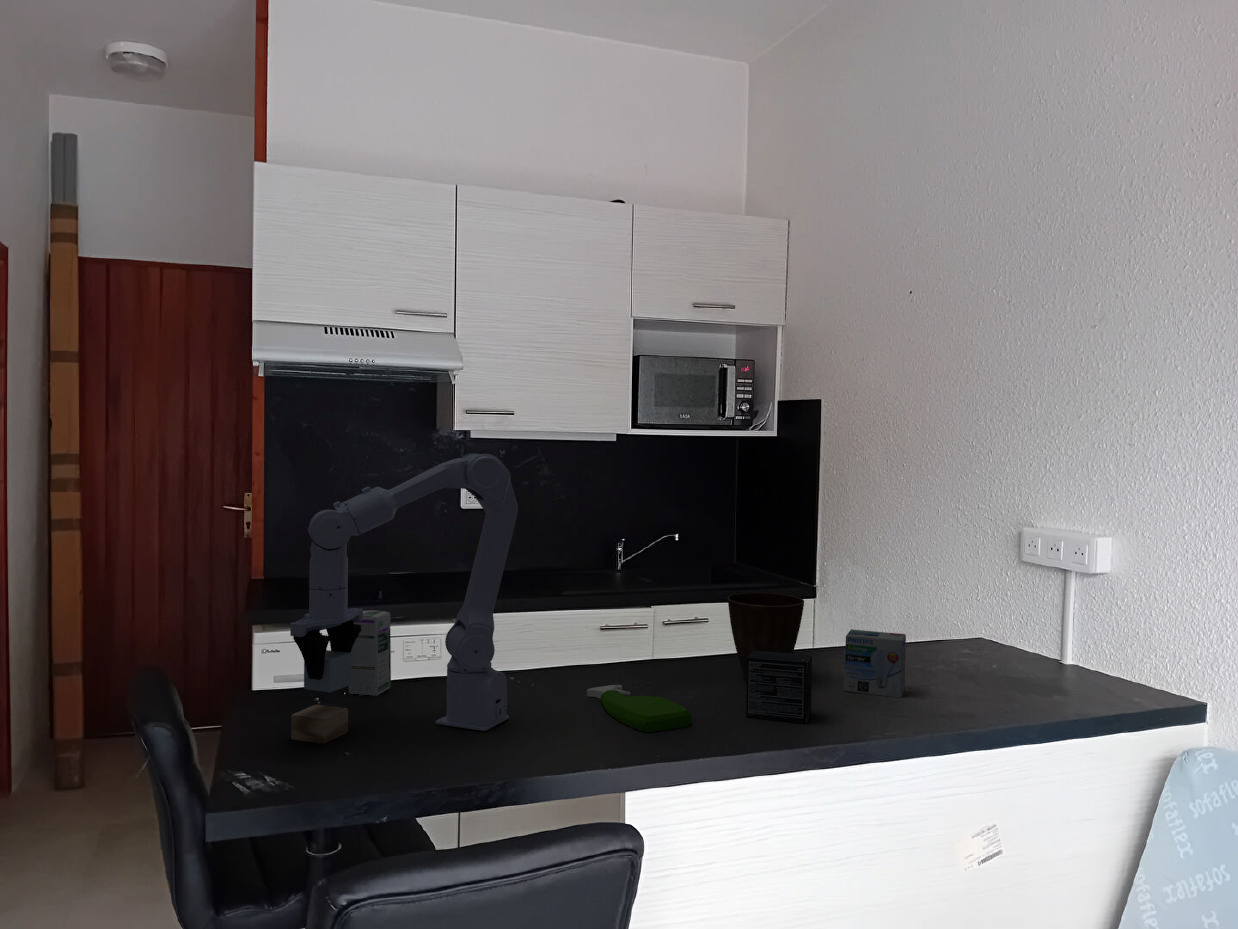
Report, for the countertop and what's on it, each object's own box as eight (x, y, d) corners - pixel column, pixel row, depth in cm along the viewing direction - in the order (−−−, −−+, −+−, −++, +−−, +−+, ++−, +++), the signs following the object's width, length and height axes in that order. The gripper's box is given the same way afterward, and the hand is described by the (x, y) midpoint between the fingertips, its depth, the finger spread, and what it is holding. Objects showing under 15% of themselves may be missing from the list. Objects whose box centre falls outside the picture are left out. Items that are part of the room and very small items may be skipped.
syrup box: (377, 696, 166) (378, 616, 166) (347, 694, 167) (347, 614, 167) (391, 688, 172) (392, 610, 171) (362, 686, 173) (362, 609, 172)
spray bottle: (640, 737, 146) (573, 700, 168) (698, 728, 152) (626, 693, 173) (640, 718, 146) (573, 684, 168) (698, 710, 152) (626, 678, 173)
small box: (812, 714, 159) (813, 653, 159) (807, 725, 153) (808, 661, 153) (751, 707, 163) (752, 648, 162) (744, 718, 156) (745, 656, 156)
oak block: (347, 733, 146) (348, 708, 146) (324, 745, 140) (324, 719, 140) (315, 729, 148) (316, 704, 147) (291, 740, 142) (291, 714, 142)
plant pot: (817, 679, 183) (818, 598, 182) (776, 694, 172) (778, 608, 171) (753, 666, 193) (754, 590, 192) (711, 679, 181) (712, 598, 181)
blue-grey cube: (351, 684, 145) (351, 653, 145) (330, 692, 140) (330, 659, 140) (325, 681, 147) (325, 650, 147) (303, 688, 142) (304, 656, 142)
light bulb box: (843, 692, 174) (844, 634, 174) (848, 683, 180) (849, 628, 180) (902, 698, 170) (903, 640, 170) (905, 689, 176) (906, 633, 176)
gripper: (338, 579, 152) (337, 662, 152) (274, 592, 138) (273, 682, 138) (374, 582, 149) (372, 666, 149) (312, 595, 135) (311, 688, 136)
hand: (327, 674), depth 144 cm, fingers closed on blue-grey cube, 5 cm apart
